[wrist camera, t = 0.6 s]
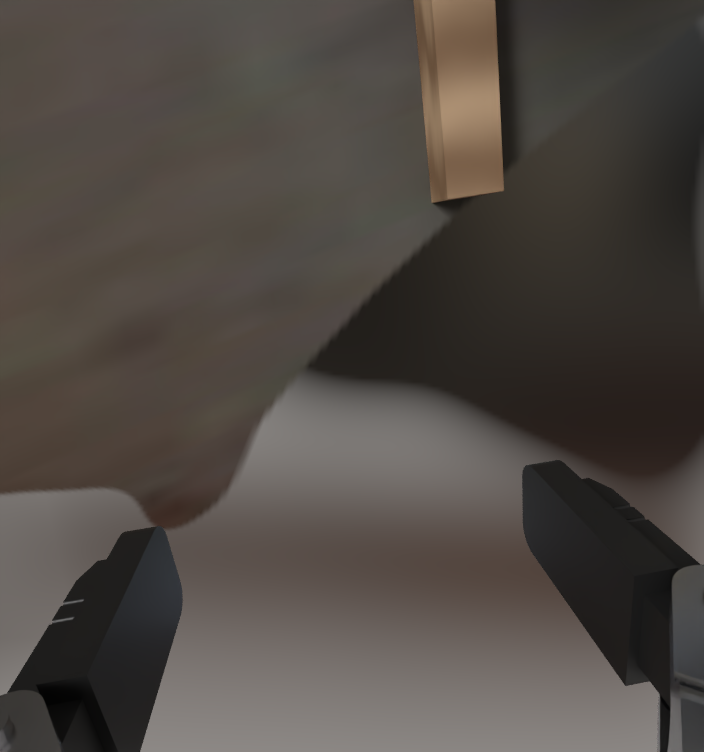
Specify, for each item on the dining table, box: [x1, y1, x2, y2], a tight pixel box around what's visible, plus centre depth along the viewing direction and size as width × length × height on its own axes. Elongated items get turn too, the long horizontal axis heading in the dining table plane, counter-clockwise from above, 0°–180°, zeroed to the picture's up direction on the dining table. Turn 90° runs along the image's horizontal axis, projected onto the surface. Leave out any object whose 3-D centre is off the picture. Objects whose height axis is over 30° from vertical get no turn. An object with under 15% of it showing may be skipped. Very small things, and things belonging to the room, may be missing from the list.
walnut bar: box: [414, 0, 504, 203], centre depth 28 cm, size 16×4×4 cm, turn 8°
